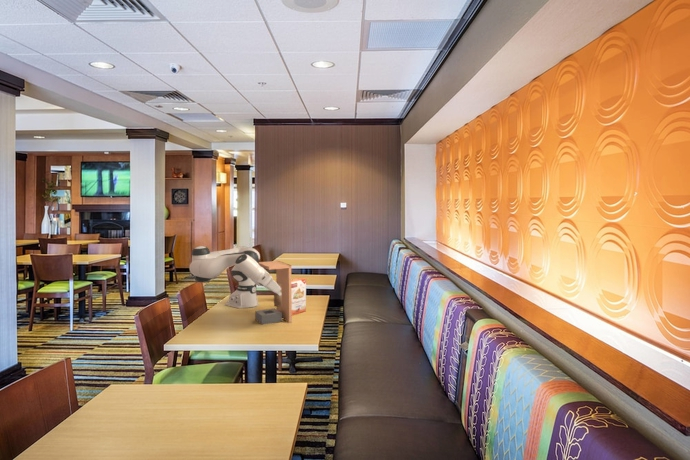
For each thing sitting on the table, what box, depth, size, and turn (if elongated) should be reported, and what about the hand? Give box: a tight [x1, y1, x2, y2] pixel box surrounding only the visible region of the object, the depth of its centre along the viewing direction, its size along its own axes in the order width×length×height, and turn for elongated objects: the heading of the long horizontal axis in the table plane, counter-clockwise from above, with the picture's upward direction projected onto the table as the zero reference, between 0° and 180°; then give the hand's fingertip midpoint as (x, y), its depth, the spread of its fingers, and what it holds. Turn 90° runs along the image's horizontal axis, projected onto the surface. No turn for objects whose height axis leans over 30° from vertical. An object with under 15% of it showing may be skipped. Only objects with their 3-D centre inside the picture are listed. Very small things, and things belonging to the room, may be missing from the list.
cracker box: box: [291, 277, 307, 316], centre depth 259 cm, size 14×6×21 cm, turn 143°
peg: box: [273, 283, 282, 308], centre depth 229 cm, size 4×4×12 cm
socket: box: [254, 308, 283, 325], centre depth 243 cm, size 12×12×5 cm
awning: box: [258, 260, 293, 324], centre depth 244 cm, size 13×20×33 cm, turn 30°
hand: (278, 293), depth 229 cm, fingers closed on peg, 4 cm apart
